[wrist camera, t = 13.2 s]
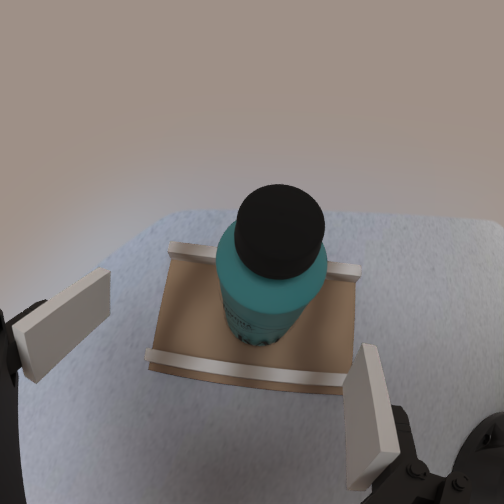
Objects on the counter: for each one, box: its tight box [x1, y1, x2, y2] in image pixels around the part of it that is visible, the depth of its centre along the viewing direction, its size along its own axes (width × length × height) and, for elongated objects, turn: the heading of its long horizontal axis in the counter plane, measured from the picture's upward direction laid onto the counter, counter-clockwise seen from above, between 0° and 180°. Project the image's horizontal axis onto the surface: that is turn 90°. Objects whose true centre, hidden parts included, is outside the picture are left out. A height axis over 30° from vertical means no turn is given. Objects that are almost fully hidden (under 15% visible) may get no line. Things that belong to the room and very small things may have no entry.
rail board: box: [144, 241, 361, 395], centre depth 32 cm, size 20×14×4 cm
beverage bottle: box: [216, 184, 327, 347], centre depth 23 cm, size 6×7×20 cm
